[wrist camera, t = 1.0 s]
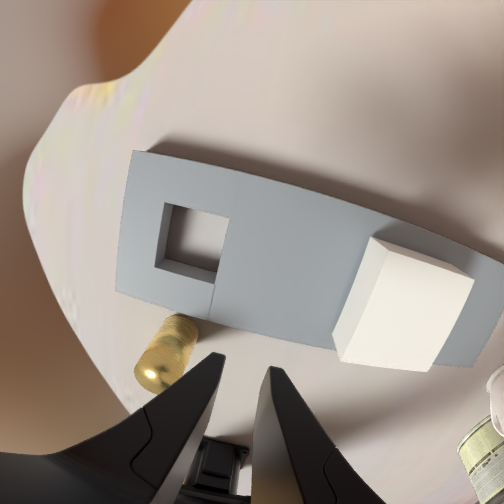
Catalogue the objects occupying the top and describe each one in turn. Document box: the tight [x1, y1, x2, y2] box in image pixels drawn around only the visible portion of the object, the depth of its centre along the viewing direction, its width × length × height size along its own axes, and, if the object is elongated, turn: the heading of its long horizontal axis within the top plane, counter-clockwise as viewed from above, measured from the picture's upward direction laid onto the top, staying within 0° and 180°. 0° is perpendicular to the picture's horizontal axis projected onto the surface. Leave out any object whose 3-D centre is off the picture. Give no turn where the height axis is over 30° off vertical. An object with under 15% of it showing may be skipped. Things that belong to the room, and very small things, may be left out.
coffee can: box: [457, 415, 504, 504], centre depth 19 cm, size 10×10×14 cm
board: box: [115, 150, 504, 367], centre depth 18 cm, size 10×32×2 cm, turn 76°
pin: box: [134, 315, 199, 395], centre depth 19 cm, size 3×3×6 cm
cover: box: [332, 237, 475, 372], centre depth 16 cm, size 7×7×3 cm
